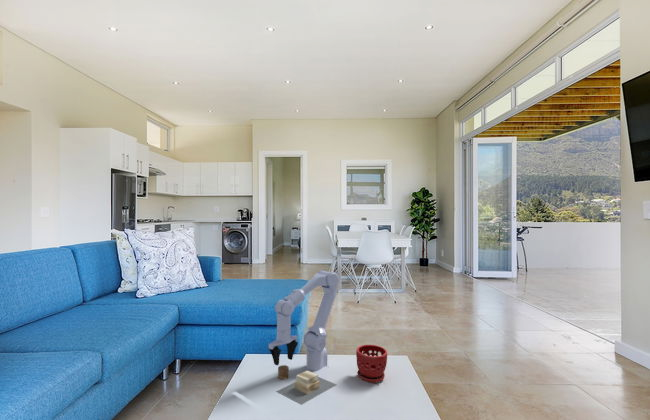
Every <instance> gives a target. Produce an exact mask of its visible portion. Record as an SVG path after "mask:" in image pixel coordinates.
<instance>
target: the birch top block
mask: <svg viewBox="0 0 650 420" xmlns="http://www.w3.org/2000/svg"><path fill="white" fill-rule="evenodd" d="M318 377H319V374H317V373H315V372H312V371H311V370H305V371H302V372H301V373H298V374H297V375H296V382H298V383H300V384H302V385H305V386H307V387H308V386H310V385H312V384H314V383H316V382H317V381H318Z"/></svg>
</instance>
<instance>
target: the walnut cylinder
mask: <svg viewBox="0 0 650 420" xmlns="http://www.w3.org/2000/svg"><path fill="white" fill-rule="evenodd" d="M289 368H290V367H289V366H288V365H283V364H282V365H280V366H279V365H278V368H277V370H278V371H277V378H278V379H279V380H288V379H289V375H290V373H289V371H290V369H289Z"/></svg>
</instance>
